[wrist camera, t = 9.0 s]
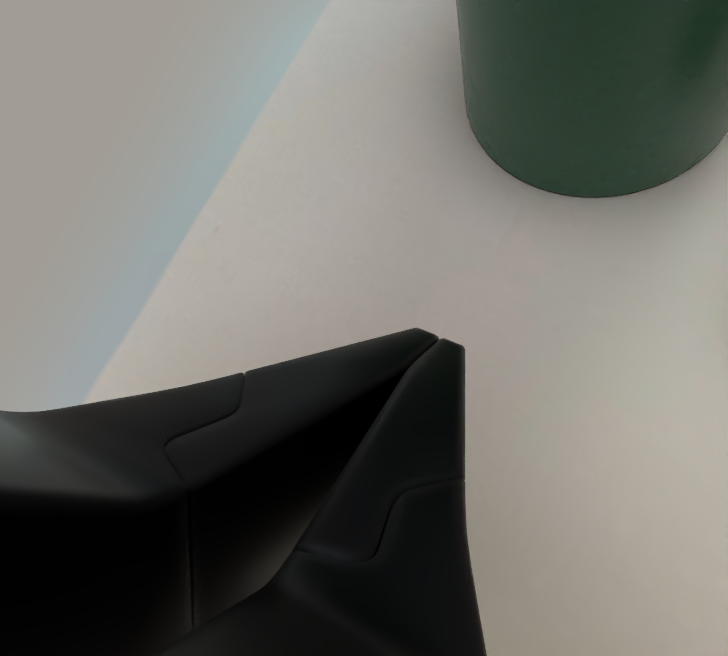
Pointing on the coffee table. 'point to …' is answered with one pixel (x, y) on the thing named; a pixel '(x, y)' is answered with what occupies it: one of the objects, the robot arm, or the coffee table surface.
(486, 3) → the green cylinder
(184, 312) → the coffee table surface
